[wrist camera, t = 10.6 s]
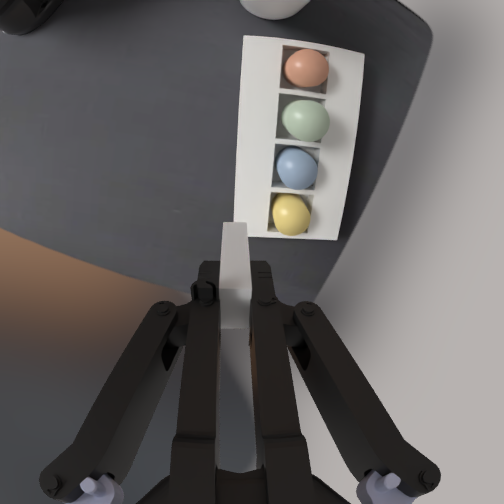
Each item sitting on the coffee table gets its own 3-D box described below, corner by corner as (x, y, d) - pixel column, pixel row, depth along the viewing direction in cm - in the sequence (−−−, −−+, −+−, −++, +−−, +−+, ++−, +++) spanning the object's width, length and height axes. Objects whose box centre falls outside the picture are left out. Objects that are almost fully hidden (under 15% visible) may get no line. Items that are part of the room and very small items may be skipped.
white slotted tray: (243, 41, 27) (243, 35, 24) (353, 57, 28) (364, 54, 25) (233, 224, 40) (233, 235, 37) (330, 228, 40) (336, 240, 38)
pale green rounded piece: (282, 97, 28) (289, 97, 24) (320, 102, 29) (331, 103, 25) (279, 134, 30) (285, 139, 27) (316, 137, 31) (327, 144, 27)
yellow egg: (272, 189, 36) (276, 201, 32) (305, 191, 36) (312, 204, 33) (269, 219, 38) (272, 235, 35) (300, 221, 39) (307, 236, 35)
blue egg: (276, 144, 33) (281, 151, 29) (310, 147, 33) (320, 154, 30) (273, 177, 35) (277, 188, 32) (306, 180, 36) (314, 191, 32)
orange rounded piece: (283, 52, 27) (289, 46, 23) (319, 57, 27) (330, 52, 23) (281, 85, 29) (286, 83, 25) (316, 90, 30) (327, 89, 26)
